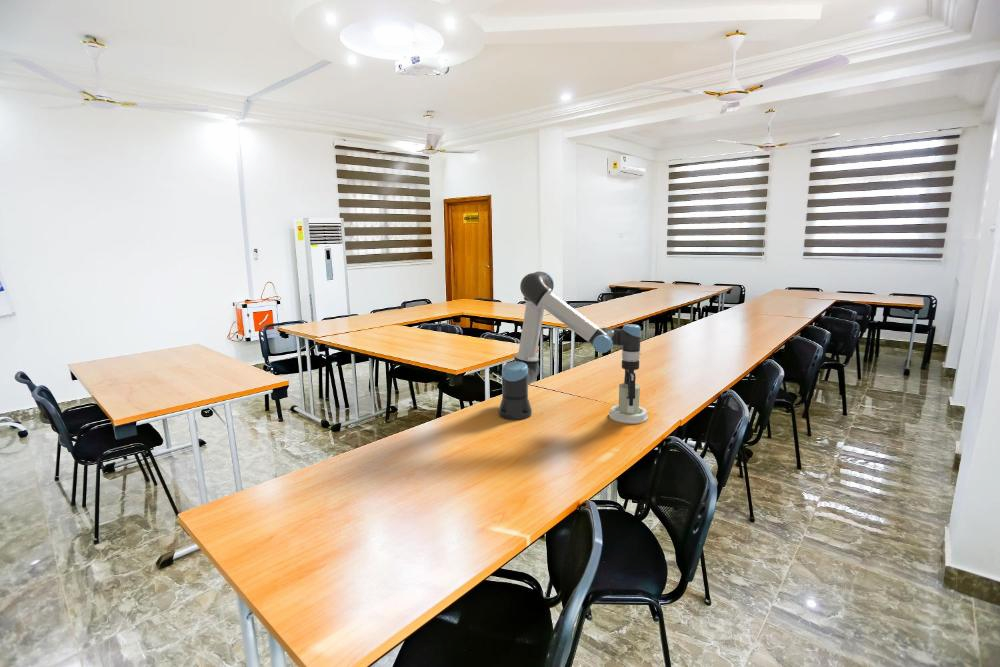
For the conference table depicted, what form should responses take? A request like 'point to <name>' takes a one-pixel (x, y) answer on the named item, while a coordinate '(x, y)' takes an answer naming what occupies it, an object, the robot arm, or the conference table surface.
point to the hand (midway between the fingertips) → (628, 408)
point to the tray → (628, 416)
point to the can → (623, 399)
